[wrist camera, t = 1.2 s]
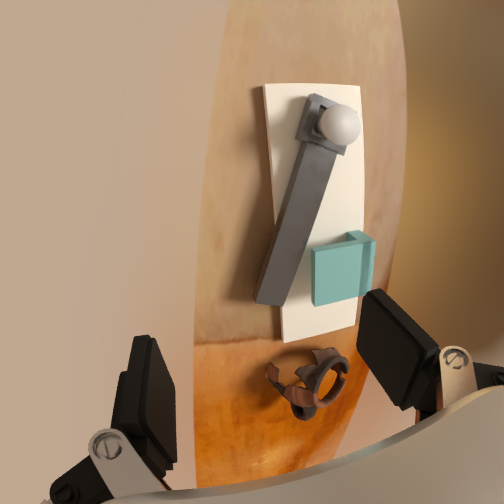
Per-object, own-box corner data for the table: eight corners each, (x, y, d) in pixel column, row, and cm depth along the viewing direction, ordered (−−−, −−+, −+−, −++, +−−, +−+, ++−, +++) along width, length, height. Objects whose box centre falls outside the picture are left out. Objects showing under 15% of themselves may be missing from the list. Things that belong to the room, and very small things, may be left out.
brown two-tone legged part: (260, 345, 35) (309, 369, 29) (311, 323, 41) (358, 339, 34) (263, 415, 37) (304, 443, 30) (308, 389, 43) (348, 409, 36)
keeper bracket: (302, 238, 29) (315, 252, 26) (359, 229, 29) (375, 241, 26) (303, 290, 31) (314, 307, 28) (356, 278, 32) (370, 293, 29)
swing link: (308, 94, 23) (314, 93, 21) (349, 112, 24) (357, 111, 23) (245, 294, 29) (248, 302, 28) (285, 299, 31) (289, 307, 29)
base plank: (262, 85, 23) (277, 75, 18) (354, 87, 24) (384, 82, 19) (281, 337, 34) (294, 367, 30) (351, 320, 36) (369, 345, 31)
